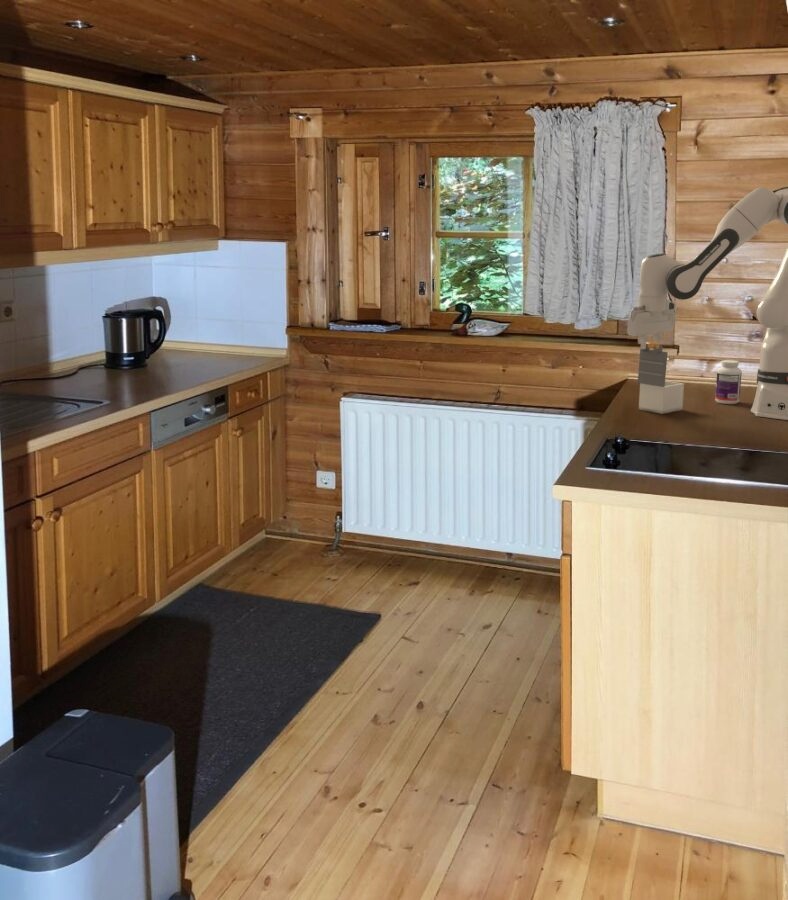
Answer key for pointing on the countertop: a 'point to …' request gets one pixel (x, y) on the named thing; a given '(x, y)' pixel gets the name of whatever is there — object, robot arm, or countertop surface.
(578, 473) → the countertop surface
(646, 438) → the countertop surface
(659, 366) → the lid
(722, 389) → the pill bottle
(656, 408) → the tub
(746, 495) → the countertop surface
